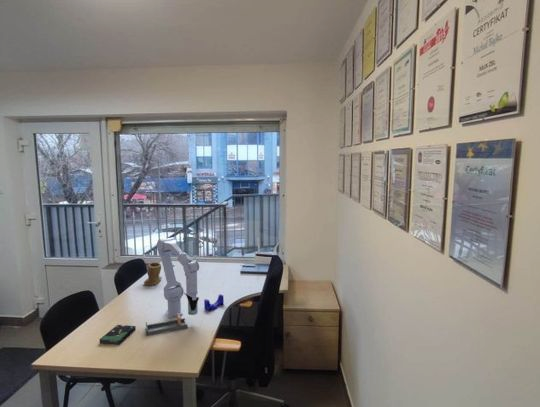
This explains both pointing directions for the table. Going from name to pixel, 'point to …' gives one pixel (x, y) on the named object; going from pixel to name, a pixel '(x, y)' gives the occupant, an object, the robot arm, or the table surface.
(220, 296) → the cable clip
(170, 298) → the robot arm
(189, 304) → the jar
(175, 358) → the table surface
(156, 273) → the brown boot
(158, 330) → the tray
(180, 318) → the bar
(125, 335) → the disk drive
